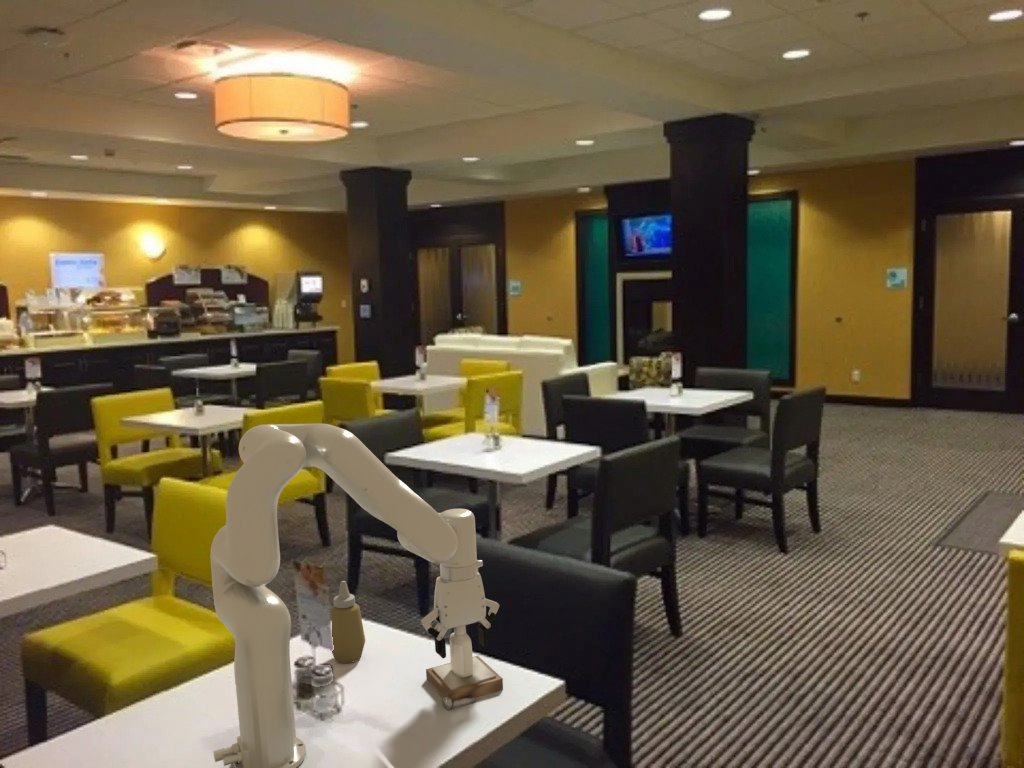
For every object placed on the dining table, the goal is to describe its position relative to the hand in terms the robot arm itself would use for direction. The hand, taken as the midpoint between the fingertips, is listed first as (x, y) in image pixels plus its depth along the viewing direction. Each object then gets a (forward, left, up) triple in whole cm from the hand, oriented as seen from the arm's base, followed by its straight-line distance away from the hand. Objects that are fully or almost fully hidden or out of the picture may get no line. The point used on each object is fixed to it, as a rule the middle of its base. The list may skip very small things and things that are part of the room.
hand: (462, 650), depth 178 cm
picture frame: (0, 0, -8) cm, 8 cm away
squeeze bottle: (-17, +26, -8) cm, 32 cm away
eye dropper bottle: (0, 0, -5) cm, 5 cm away
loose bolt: (-4, -8, -8) cm, 11 cm away
